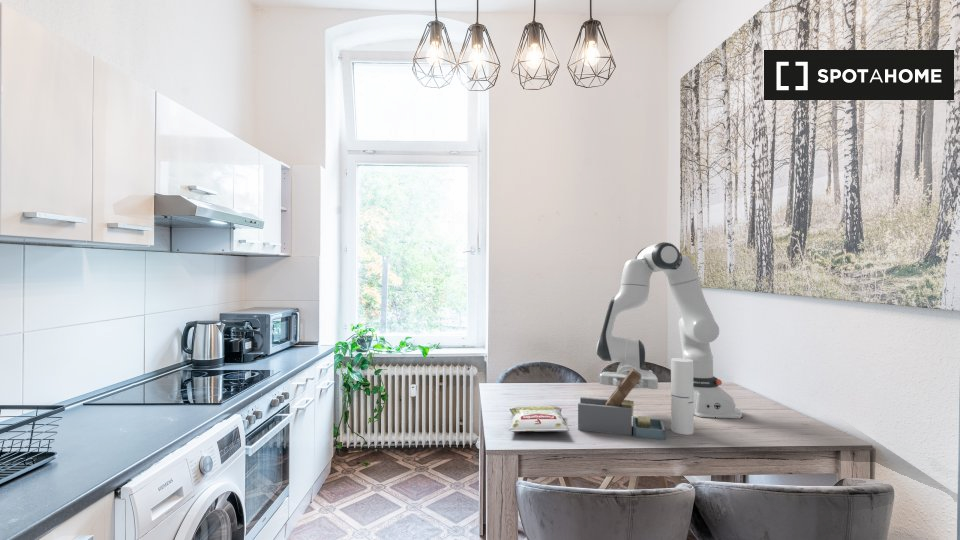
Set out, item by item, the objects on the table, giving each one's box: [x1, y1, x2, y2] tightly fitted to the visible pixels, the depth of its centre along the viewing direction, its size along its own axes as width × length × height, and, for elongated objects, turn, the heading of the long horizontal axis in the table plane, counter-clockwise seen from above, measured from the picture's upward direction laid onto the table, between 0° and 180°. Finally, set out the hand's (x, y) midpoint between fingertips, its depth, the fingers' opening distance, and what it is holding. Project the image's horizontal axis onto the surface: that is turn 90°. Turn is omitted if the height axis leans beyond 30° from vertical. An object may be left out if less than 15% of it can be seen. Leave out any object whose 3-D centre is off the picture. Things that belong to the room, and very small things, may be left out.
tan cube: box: [621, 399, 635, 415], centre depth 157 cm, size 4×4×4 cm
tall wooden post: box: [606, 368, 641, 407], centre depth 158 cm, size 4×5×16 cm
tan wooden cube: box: [637, 415, 651, 429], centre depth 155 cm, size 4×4×4 cm
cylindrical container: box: [670, 357, 695, 436], centre depth 156 cm, size 7×7×25 cm
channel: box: [577, 396, 633, 436], centre depth 160 cm, size 18×10×9 cm, turn 72°
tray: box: [632, 416, 666, 441], centre depth 155 cm, size 10×12×3 cm
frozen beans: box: [508, 406, 570, 433], centre depth 161 cm, size 21×6×25 cm
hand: (627, 384), depth 156 cm, fingers closed on tall wooden post, 5 cm apart
